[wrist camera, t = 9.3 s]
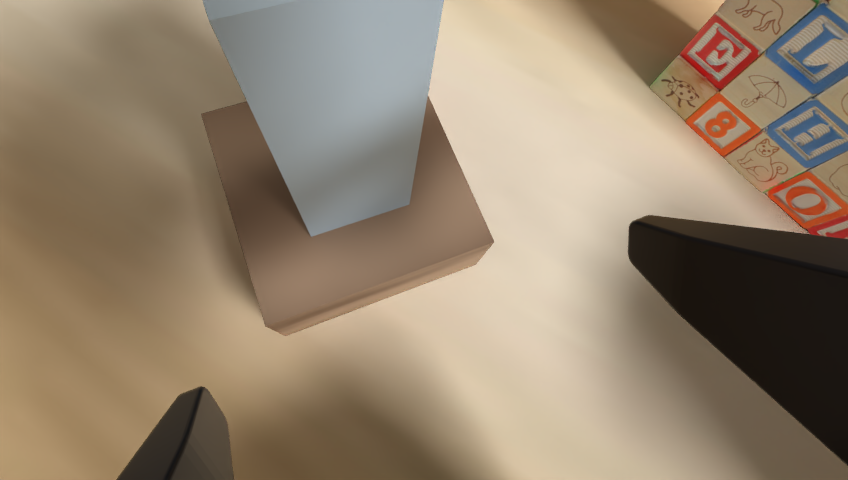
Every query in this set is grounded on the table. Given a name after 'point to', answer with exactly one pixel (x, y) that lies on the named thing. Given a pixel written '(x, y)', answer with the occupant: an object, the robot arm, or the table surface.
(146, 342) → the table surface
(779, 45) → the stack of blocks
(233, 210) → the walnut plinth
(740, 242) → the robot arm
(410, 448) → the table surface
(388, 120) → the slate block
